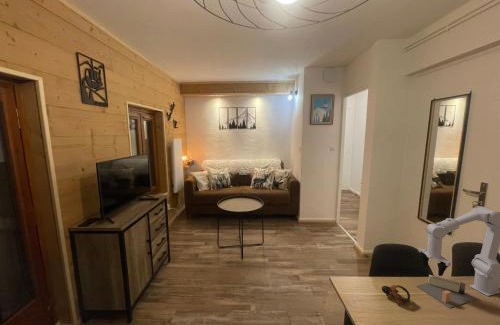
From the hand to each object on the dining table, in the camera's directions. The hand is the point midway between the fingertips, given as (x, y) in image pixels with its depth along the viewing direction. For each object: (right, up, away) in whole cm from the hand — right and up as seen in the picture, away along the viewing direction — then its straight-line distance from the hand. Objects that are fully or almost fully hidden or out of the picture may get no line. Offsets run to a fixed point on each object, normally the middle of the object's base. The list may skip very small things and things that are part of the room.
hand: (432, 271), depth 117 cm
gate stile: (-1, -11, -9) cm, 14 cm away
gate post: (+12, -10, -4) cm, 16 cm away
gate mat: (+4, -10, -3) cm, 11 cm away
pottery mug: (-24, -12, -5) cm, 27 cm away
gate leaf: (+6, -9, 0) cm, 10 cm away
